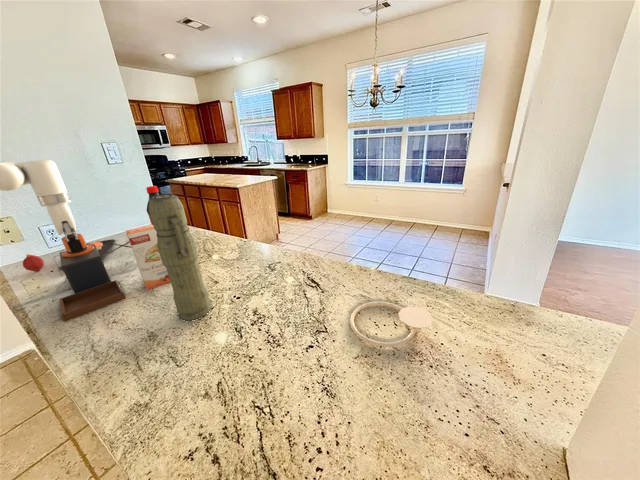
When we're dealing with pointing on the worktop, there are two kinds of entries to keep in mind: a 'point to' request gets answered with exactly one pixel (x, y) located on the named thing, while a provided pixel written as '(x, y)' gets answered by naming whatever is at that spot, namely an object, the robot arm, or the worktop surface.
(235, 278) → the worktop surface
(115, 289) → the tray
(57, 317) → the worktop surface
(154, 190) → the cola bottle
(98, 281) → the charcoal grey box
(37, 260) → the onion
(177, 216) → the thermos
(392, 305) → the hand towel holder
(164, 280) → the cracker box
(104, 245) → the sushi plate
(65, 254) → the hat
